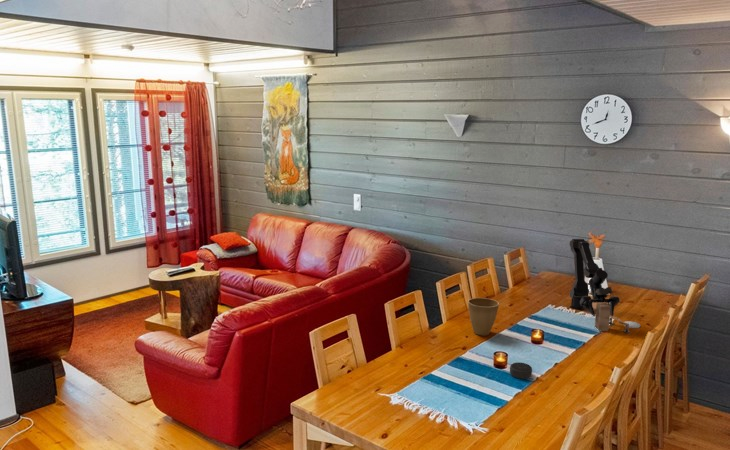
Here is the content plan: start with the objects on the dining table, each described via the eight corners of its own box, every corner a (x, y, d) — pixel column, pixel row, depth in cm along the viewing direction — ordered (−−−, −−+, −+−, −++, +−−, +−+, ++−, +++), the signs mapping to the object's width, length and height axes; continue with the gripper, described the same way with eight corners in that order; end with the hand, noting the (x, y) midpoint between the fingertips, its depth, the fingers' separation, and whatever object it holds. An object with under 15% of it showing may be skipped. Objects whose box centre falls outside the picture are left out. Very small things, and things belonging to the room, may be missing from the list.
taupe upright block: (594, 327, 303) (596, 303, 300) (604, 327, 303) (606, 303, 300) (598, 330, 298) (600, 306, 295) (608, 330, 298) (610, 306, 295)
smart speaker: (515, 368, 253) (515, 360, 252) (535, 374, 247) (535, 365, 246) (506, 375, 246) (506, 366, 245) (526, 381, 240) (526, 372, 240)
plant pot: (497, 339, 285) (499, 307, 282) (466, 337, 287) (467, 305, 284) (497, 328, 299) (498, 298, 296) (467, 326, 302) (468, 296, 299)
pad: (620, 325, 306) (620, 323, 306) (626, 321, 312) (626, 320, 311) (636, 329, 300) (636, 327, 300) (642, 325, 306) (642, 324, 306)
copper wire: (606, 323, 308) (607, 315, 307) (611, 323, 309) (612, 314, 308) (625, 333, 295) (626, 324, 294) (631, 332, 296) (631, 324, 295)
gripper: (583, 281, 300) (590, 308, 291) (620, 281, 300) (627, 309, 292) (576, 291, 309) (583, 318, 301) (612, 291, 310) (619, 318, 301)
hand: (603, 316), depth 298 cm, fingers open, 9 cm apart
